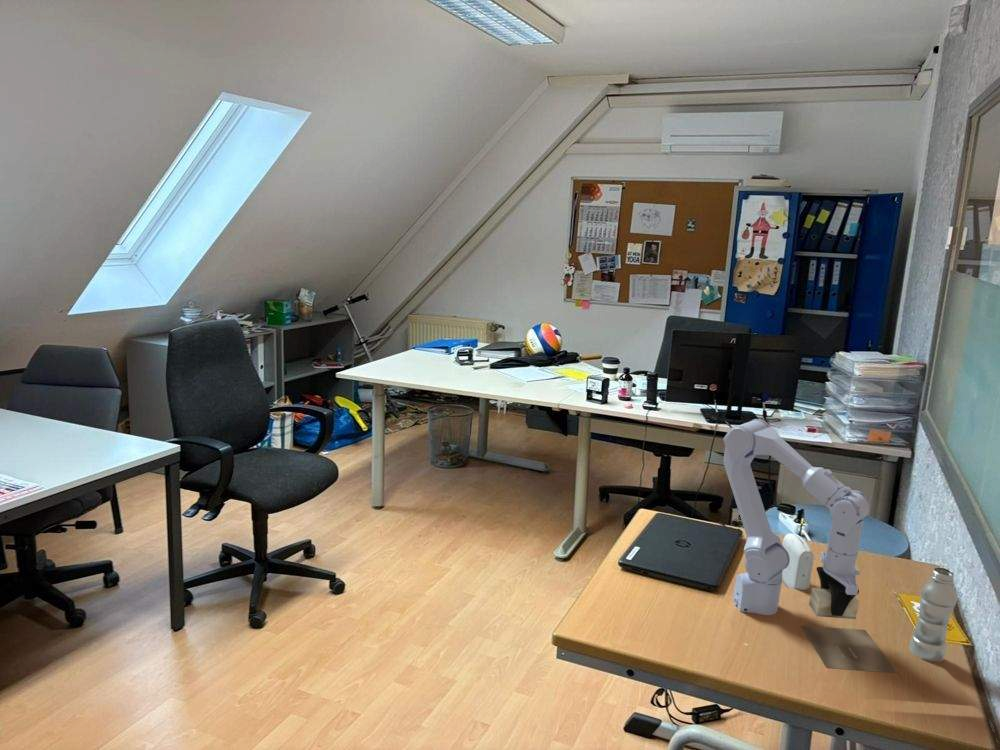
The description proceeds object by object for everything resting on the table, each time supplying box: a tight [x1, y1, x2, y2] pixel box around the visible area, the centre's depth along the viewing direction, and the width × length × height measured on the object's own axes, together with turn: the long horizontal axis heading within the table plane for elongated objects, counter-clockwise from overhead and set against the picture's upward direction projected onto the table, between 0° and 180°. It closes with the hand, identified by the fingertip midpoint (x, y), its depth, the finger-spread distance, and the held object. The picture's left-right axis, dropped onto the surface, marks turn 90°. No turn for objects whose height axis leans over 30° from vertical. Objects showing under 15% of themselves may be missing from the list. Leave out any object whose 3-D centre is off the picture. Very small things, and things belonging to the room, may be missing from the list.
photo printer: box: [782, 533, 815, 591], centre depth 182 cm, size 10×4×12 cm, turn 3°
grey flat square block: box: [800, 625, 899, 674], centre depth 155 cm, size 14×15×2 cm
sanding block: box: [808, 587, 860, 620], centre depth 157 cm, size 8×4×4 cm, turn 88°
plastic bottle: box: [909, 566, 958, 663], centre depth 153 cm, size 6×7×20 cm
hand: (832, 608), depth 157 cm, fingers closed on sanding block, 4 cm apart
